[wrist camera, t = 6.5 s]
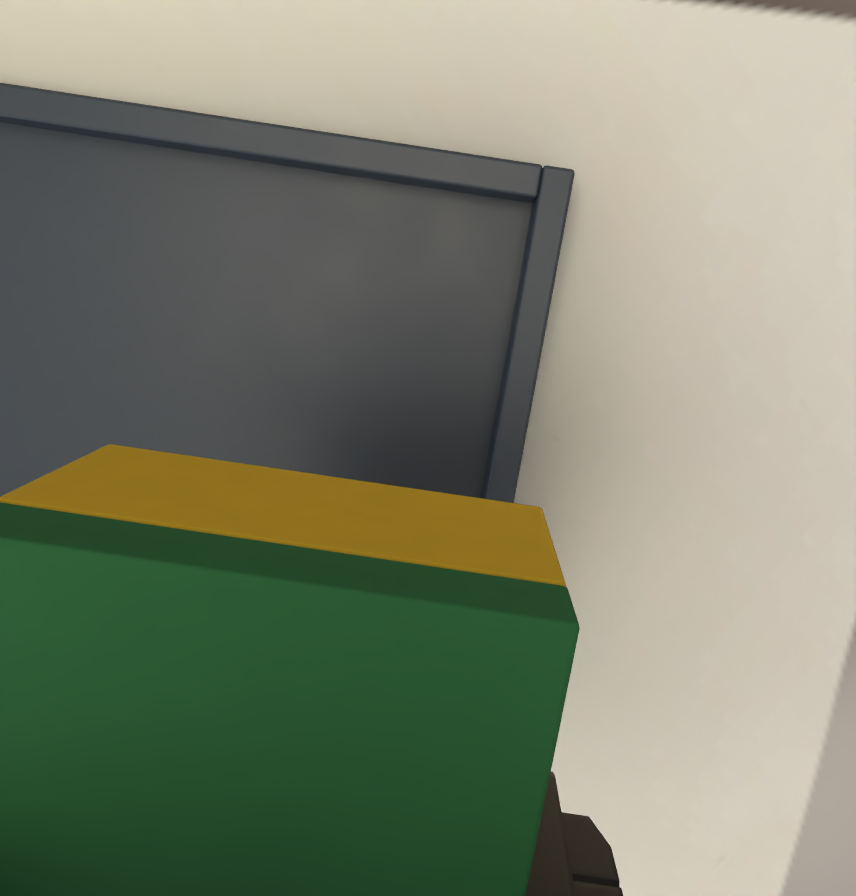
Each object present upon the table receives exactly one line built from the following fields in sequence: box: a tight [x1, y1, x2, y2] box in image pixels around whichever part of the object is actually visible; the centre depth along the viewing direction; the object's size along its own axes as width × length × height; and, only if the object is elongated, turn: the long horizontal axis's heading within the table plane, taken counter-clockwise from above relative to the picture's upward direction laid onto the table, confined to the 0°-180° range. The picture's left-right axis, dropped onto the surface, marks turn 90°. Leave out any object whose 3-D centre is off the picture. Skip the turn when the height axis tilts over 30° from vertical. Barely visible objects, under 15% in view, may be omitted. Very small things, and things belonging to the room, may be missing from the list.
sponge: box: [0, 444, 579, 896], centre depth 10 cm, size 6×9×4 cm, turn 172°
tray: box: [0, 83, 574, 503], centre depth 21 cm, size 24×14×2 cm, turn 81°
